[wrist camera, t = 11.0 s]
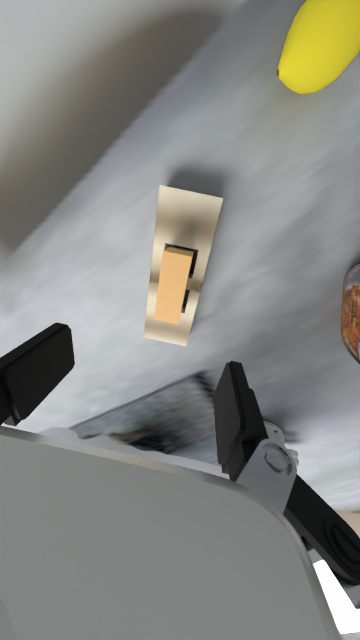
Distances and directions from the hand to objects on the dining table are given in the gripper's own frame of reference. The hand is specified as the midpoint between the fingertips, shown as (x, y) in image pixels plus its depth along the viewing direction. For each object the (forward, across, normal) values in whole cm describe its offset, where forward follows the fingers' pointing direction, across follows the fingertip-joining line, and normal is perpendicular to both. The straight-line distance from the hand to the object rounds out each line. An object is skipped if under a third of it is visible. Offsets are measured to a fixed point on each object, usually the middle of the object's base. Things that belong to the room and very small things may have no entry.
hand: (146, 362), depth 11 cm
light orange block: (+18, 0, -1) cm, 18 cm away
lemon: (+18, -8, -22) cm, 30 cm away
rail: (+18, 0, -1) cm, 18 cm away
